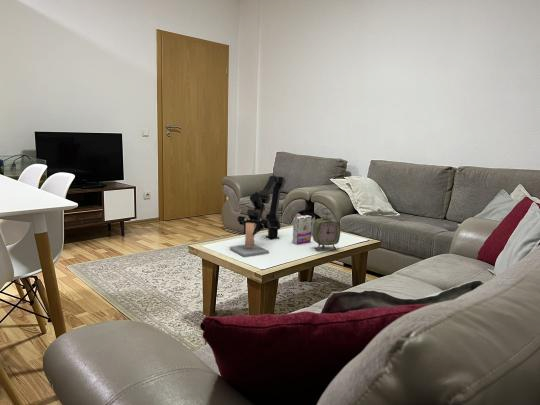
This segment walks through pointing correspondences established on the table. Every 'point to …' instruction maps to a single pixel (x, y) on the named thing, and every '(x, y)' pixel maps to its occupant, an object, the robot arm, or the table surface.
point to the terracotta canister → (249, 234)
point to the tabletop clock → (326, 230)
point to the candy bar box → (302, 229)
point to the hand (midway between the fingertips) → (248, 234)
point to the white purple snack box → (312, 219)
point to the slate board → (249, 250)
